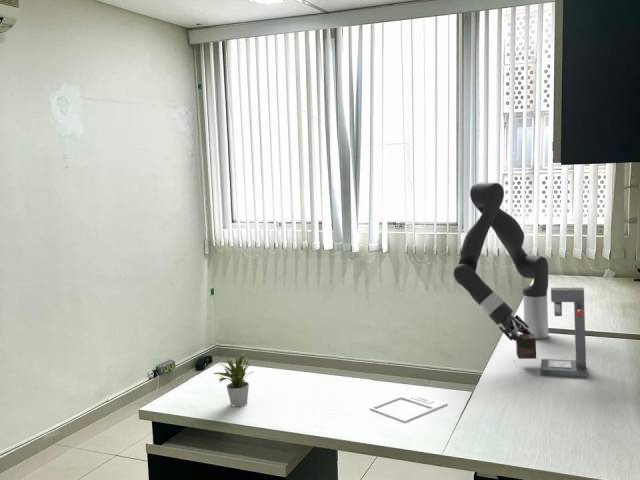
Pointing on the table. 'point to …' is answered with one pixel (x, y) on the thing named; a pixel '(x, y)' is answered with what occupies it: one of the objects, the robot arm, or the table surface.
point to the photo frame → (415, 399)
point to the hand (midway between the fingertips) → (529, 343)
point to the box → (527, 347)
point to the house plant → (236, 381)
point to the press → (579, 365)
